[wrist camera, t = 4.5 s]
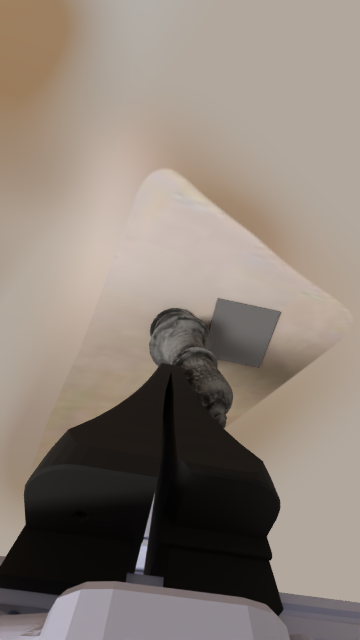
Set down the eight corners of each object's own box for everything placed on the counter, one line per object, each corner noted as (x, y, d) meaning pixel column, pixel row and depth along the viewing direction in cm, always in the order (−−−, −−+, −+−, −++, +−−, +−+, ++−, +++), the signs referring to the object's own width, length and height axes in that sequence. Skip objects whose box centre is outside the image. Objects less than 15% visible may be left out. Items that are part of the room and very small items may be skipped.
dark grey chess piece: (178, 293, 18) (244, 347, 7) (208, 331, 20) (294, 417, 9) (135, 330, 18) (132, 439, 7) (170, 363, 20) (209, 485, 9)
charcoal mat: (258, 366, 21) (259, 367, 21) (202, 355, 21) (202, 356, 20) (279, 311, 19) (280, 311, 19) (217, 298, 19) (218, 298, 18)
